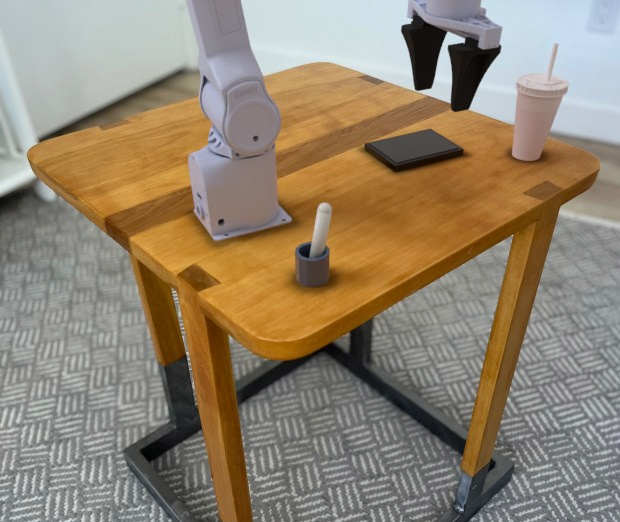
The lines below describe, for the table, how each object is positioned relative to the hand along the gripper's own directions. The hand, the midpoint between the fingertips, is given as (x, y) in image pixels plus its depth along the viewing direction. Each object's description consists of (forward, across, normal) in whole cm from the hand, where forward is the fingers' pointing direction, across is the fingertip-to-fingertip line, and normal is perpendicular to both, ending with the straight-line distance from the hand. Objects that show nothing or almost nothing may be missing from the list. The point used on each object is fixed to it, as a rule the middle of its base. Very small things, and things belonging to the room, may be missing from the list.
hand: (441, 99), depth 73 cm
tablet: (+10, +8, -2) cm, 13 cm away
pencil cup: (+10, -14, +23) cm, 29 cm away
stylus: (+10, -14, +23) cm, 29 cm away
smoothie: (+10, 0, -15) cm, 18 cm away
